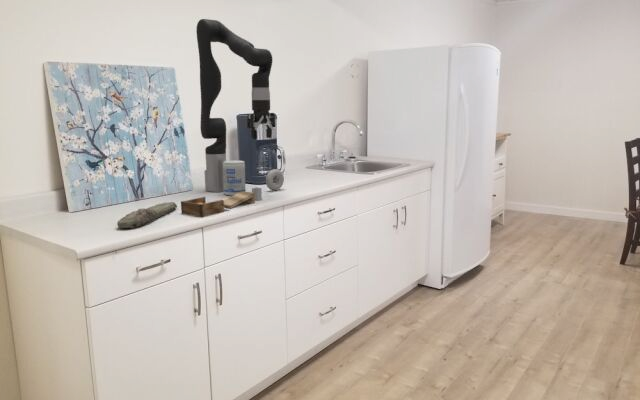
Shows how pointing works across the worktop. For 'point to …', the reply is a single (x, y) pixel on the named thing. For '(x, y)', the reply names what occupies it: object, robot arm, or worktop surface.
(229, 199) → the ramp
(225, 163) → the supplement tub
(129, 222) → the long grey stone
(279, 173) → the donut
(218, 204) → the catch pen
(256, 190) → the hollow grey box
